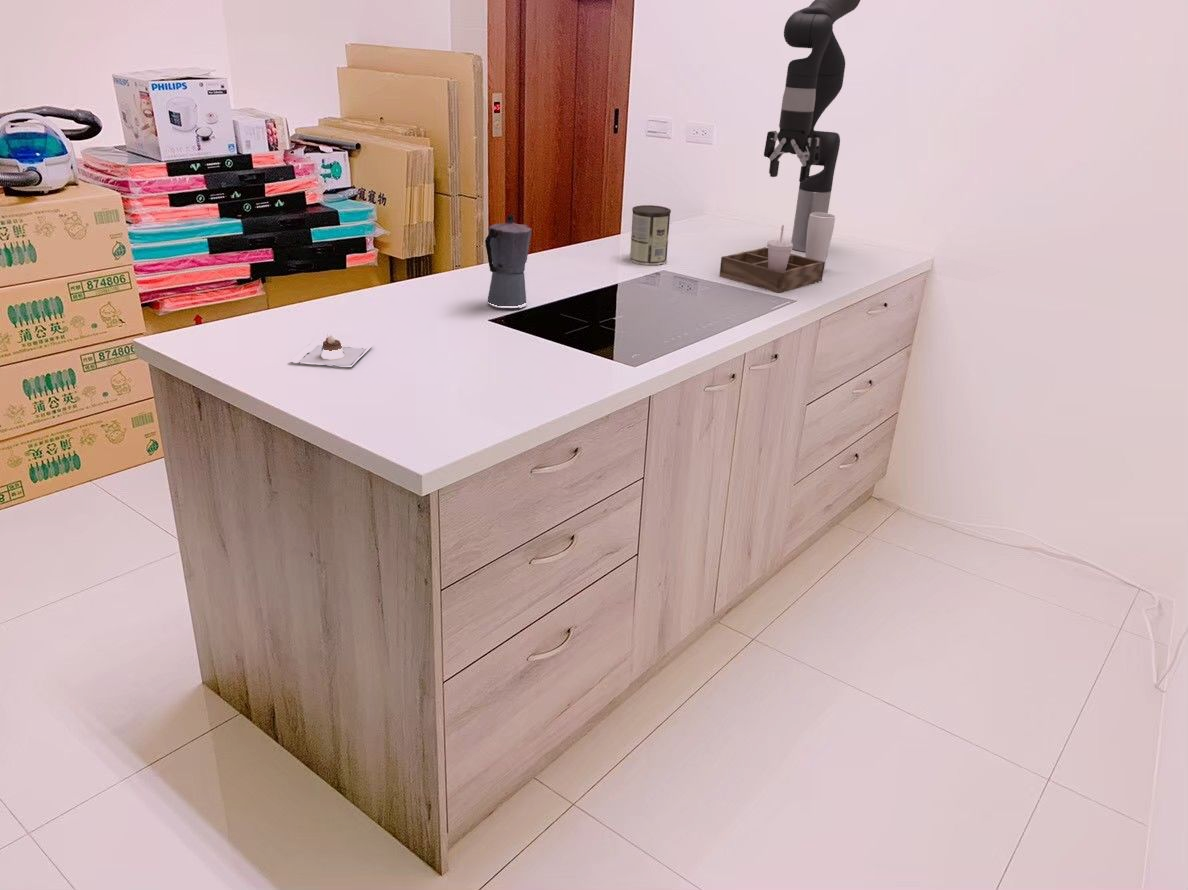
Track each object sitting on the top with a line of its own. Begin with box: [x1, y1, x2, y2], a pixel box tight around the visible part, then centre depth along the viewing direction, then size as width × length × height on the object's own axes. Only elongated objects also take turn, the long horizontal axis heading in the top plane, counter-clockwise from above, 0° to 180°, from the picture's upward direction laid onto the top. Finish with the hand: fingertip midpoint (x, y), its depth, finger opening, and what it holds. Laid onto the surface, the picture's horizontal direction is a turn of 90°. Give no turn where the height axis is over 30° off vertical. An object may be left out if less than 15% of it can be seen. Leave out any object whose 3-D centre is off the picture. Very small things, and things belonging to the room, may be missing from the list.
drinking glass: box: [804, 212, 836, 268], centre depth 234 cm, size 7×7×15 cm
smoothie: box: [766, 224, 794, 272], centre depth 219 cm, size 6×6×14 cm
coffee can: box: [629, 204, 672, 266], centre depth 236 cm, size 10×10×14 cm
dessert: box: [321, 334, 342, 351], centre depth 163 cm, size 12×12×5 cm
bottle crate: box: [719, 246, 826, 294], centre depth 227 cm, size 19×19×5 cm
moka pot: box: [484, 214, 533, 306], centre depth 192 cm, size 10×15×20 cm, turn 155°
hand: (787, 179), depth 212 cm, fingers open, 8 cm apart
